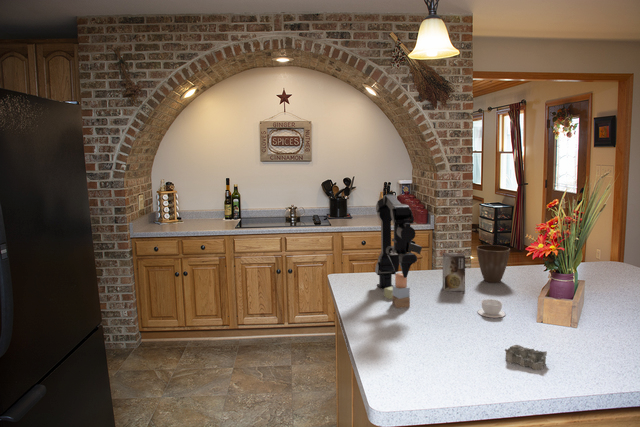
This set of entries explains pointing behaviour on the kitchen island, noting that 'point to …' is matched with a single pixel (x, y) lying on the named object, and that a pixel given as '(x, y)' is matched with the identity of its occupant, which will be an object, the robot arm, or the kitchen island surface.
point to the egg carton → (519, 352)
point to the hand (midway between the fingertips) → (400, 274)
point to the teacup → (491, 308)
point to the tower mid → (401, 292)
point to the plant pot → (492, 261)
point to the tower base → (401, 302)
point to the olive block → (388, 292)
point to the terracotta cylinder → (400, 281)
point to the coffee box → (453, 272)
